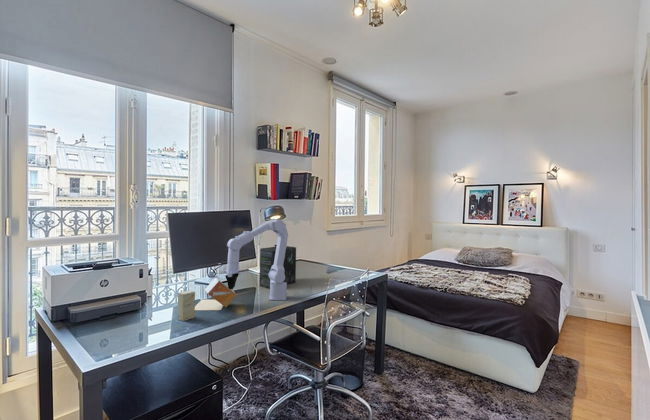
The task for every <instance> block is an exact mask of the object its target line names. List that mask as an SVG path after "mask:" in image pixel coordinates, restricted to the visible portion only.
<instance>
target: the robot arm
mask: <svg viewBox="0 0 650 420" xmlns="http://www.w3.org/2000/svg"><path fill="white" fill-rule="evenodd" d="M266 231H273V232H274V233H275V234H276V236H277V242H276V245H277V246H276V253H275V259H274V264H273V265H272V267H271V270H270V272H269V274H268V276H269V278H270V288H269V296H268V300H269V301H286V300H287V297H288V292H287V291H288V290H287V289H288V285H287V282H283V281H284V280H285V274H284V272H285V270H284V267H283V263H284V257H285V251H286V246H288V238H289V233H288V229H287V224H286V223H285V222H284V220H282V219H275V218H271V219H270V220H266V221H265V222H263V223H262V224H261V225H259V226H257V227H256V228H254V229H253V230H251V231H249V230H247V231H246V230H244V231H243V232H242V233H240V234H239V235H235V236H234V238H230V239H229V240H228V241H227V243H226V247H227V249H228V253H227V264H226V266H227V267H226V269H224V272H226V275H225V276H224V277H225V279H226V281H227V282H226V283H227V287H228V288H229V289H231V290H233V289H234V288H235V286H236V283H237V279H238V276H239V275H240V273H239V271H240V270H239V269H240V268H239V267H240V250H241V248H242V247H244V246H245V245H247V244H249V243H251V242H252V241H253V240H254V239H255V237H257V236H259V235H260V234H262V233H264V232H266Z"/></svg>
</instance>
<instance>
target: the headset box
mask: <svg viewBox="0 0 650 420" xmlns="http://www.w3.org/2000/svg"><path fill="white" fill-rule="evenodd" d="M276 247H277V244H274V246H271V247H262V248H260V249H259V252H260V254H259V287H262V288H266V289H270V278H269V276H268V274H269V272H270V270H271V267H272V265H273V264H274V259H275V253H276ZM283 267H284V270H285V272H284V274H285V280H284V281H283V282H287V286H288V285H290V284H292V285H293V284H296V283H297V282H296V275H297V273H296V271H297V247H296V246H288V245H286V251H285V257H284V263H283Z"/></svg>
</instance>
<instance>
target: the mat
mask: <svg viewBox="0 0 650 420" xmlns="http://www.w3.org/2000/svg"><path fill="white" fill-rule="evenodd" d="M223 308H224V306H223V305H222V304H220V303H219V302H218V301H217V300H215V299H201V300H200V301H199V302H198V303H197V304H195V312H197V311H198V312H199V311H200V312H201V311H203V312H204V311H207V312H208V311H210V312H211V311H221V310H223Z"/></svg>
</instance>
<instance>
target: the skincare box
mask: <svg viewBox="0 0 650 420" xmlns="http://www.w3.org/2000/svg"><path fill="white" fill-rule="evenodd" d="M195 306H196V292H195V290H194V291H193V290H185V291H181V292H177V320H179V321H182V322H184V321H188V320H190V319H191V320H192V319H194V318H196V314H195V313H196V311H195Z"/></svg>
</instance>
